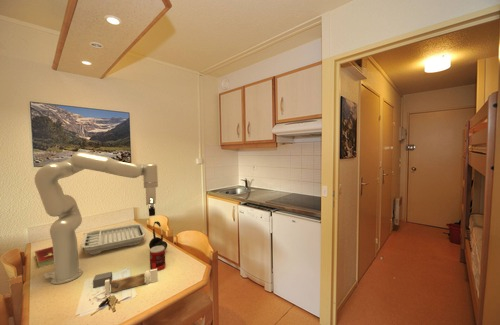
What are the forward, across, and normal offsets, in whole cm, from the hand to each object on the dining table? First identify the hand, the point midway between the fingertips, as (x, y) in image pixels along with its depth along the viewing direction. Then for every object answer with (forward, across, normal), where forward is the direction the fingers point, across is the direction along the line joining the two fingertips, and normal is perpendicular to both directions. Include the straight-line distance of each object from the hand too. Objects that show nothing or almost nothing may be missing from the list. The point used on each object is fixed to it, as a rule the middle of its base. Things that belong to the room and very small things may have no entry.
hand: (151, 213), depth 124 cm
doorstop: (+29, +12, -23) cm, 39 cm away
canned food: (+29, +10, +2) cm, 30 cm away
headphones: (+29, -10, +3) cm, 31 cm away
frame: (+29, +23, -10) cm, 38 cm away
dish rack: (+29, -39, -24) cm, 54 cm away
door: (+28, +23, -12) cm, 38 cm away
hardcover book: (+29, -34, -57) cm, 72 cm away
